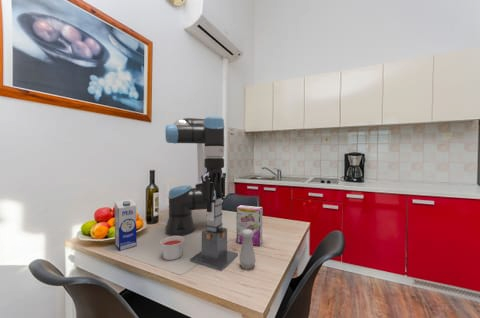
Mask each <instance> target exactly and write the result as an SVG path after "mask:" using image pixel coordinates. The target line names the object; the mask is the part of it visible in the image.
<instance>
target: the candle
mask: <svg viewBox="0 0 480 318" xmlns="http://www.w3.org/2000/svg"><path fill="white" fill-rule="evenodd" d="M159 243H160V248H161V253H162V257H163V259H164V260H167V261H174V260H177V259H179V258H180V257H182V254H183V249H184V244H185V237H184V236H183V235H180V236H172V235H169V236H166V237H164V238H162V239H161V240H160V242H159Z"/></svg>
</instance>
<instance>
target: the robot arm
mask: <svg viewBox="0 0 480 318" xmlns="http://www.w3.org/2000/svg"><path fill="white" fill-rule="evenodd" d="M164 133H165V142H167V143H168V144H196V153H197V155H196V156H197V157H196V158H197V182H196V183H195V187H193V186H192V185H191V184H190V185H180V186H176V187H172V188H171V189H170V190H168V218H167V222H166V226H165V228H164V229H165V230H164V231H165V232H164V233H165V234H166V235H169V236H186V235H189V234H192V233H193V232H194V231H195V230H196V224H195V222H194V219H193V214H192V211H199V210H200V211H201V210H206V215H207V216H206V221H207V220H210V221H214V203H213V197H217V198H222V201H224V200H225V197H226V177H227V173H226V172H223V168H224V167H225V158H223V157H225V119H224V118H223V117H220V116H215V115H214V116H212V115H211V116H207V117H205V118H195V117H192V118H191V117H185V118H180V119H178V120H176V121H175V122H174V123H173V124H166V125H165V131H164ZM206 204H207V206H206Z"/></svg>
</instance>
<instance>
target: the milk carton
mask: <svg viewBox="0 0 480 318" xmlns="http://www.w3.org/2000/svg"><path fill="white" fill-rule="evenodd" d="M137 236H138V235H137V204H136V202H135V201H134V199H132V198H129V199H123V200H122V199H121V200H114V246H115V247H116V249H117V250H118V251H119V252H121V251H124V250H128V249H131V248H135V247H137V243H138V242H137V240H138V239H137Z"/></svg>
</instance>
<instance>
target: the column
mask: <svg viewBox="0 0 480 318" xmlns="http://www.w3.org/2000/svg"><path fill="white" fill-rule="evenodd" d="M222 202H223V200H222V198H217V197H213V203H214V221H210V220H207V219H206V221H207V222H206V229H207V232H211V233H216V234H217V233H218V232H219V229H220V228H221V227H222V228H223V222H222V221H223V220H222V219H223V210H222V209H223V207H222V205H223V203H222ZM206 206H207V204H206ZM206 217H207V214H206Z"/></svg>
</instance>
